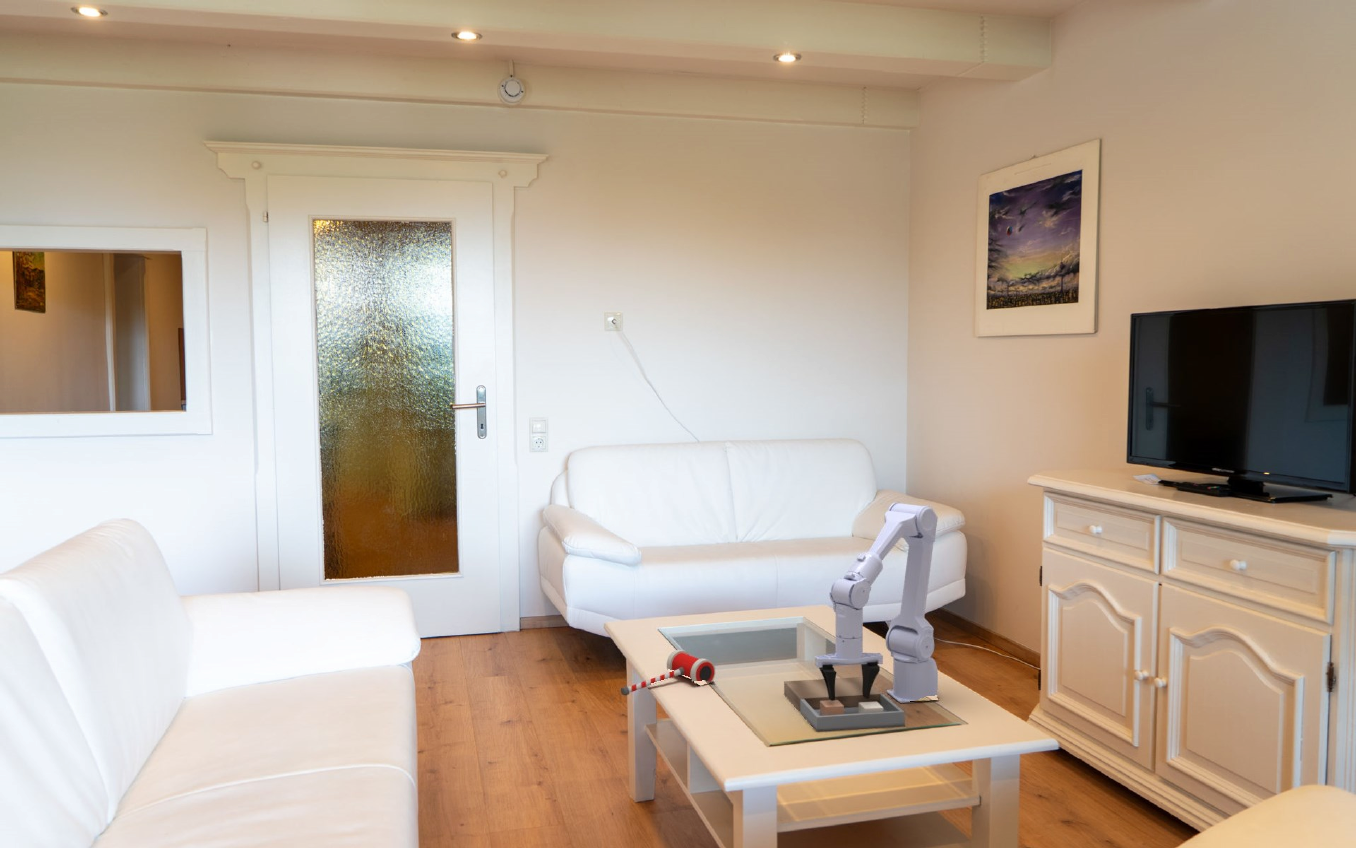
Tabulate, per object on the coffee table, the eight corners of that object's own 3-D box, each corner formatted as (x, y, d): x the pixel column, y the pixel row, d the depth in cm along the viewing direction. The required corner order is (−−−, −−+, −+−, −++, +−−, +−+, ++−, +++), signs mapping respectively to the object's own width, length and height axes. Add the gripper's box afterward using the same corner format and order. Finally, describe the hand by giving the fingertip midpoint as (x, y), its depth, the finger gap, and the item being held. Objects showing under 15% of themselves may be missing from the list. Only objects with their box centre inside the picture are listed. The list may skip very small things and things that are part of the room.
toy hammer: (636, 703, 217) (636, 675, 217) (609, 690, 227) (608, 663, 227) (716, 684, 231) (716, 658, 231) (686, 672, 240) (686, 647, 240)
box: (883, 707, 213) (883, 694, 213) (904, 726, 201) (904, 712, 201) (800, 712, 210) (800, 699, 209) (816, 731, 198) (816, 717, 198)
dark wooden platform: (862, 689, 225) (862, 677, 225) (883, 707, 213) (883, 693, 213) (784, 694, 222) (784, 681, 222) (799, 712, 210) (799, 698, 210)
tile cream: (883, 707, 202) (883, 722, 202) (876, 701, 206) (876, 715, 206) (864, 708, 202) (864, 723, 202) (858, 702, 206) (858, 716, 206)
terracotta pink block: (843, 706, 203) (843, 720, 204) (837, 700, 207) (837, 713, 207) (825, 707, 203) (825, 721, 203) (819, 701, 207) (819, 714, 207)
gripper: (874, 629, 211) (874, 690, 212) (810, 632, 209) (810, 694, 210) (886, 637, 205) (886, 700, 205) (820, 640, 202) (820, 704, 203)
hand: (848, 698), depth 207 cm, fingers open, 7 cm apart
